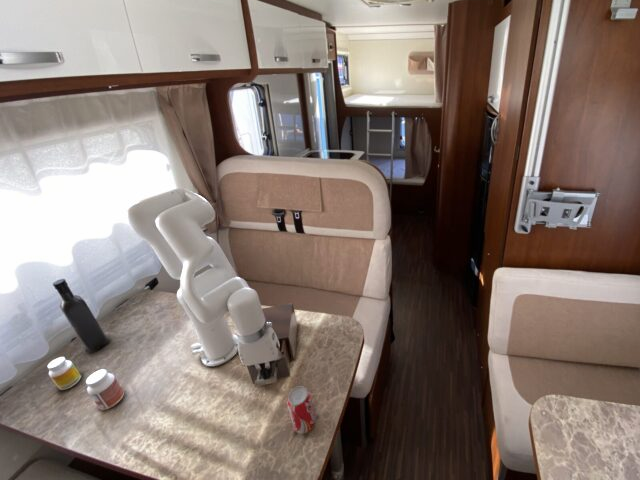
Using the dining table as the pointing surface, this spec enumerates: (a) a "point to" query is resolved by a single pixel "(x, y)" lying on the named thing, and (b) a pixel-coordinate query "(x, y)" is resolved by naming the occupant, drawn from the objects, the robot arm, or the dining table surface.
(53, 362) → the supplement bottle
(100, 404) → the pill bottle
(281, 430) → the dining table surface
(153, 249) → the robot arm
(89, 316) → the wine bottle
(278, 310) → the cabinet
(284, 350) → the drawer
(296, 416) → the beverage can
